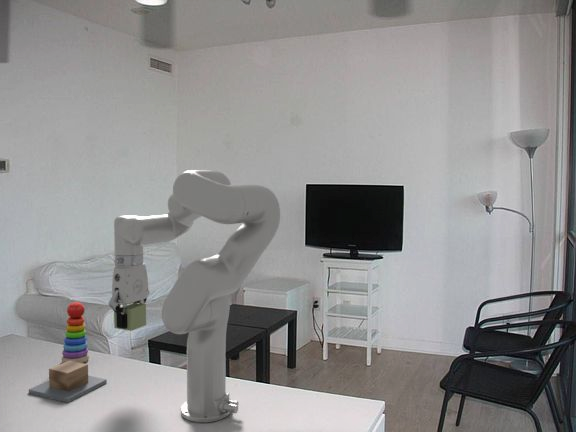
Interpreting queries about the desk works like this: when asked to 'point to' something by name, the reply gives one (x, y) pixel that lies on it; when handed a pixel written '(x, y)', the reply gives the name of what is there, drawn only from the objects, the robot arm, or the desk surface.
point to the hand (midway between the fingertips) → (130, 324)
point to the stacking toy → (75, 335)
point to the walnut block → (68, 375)
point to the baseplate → (67, 395)
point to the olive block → (133, 316)
